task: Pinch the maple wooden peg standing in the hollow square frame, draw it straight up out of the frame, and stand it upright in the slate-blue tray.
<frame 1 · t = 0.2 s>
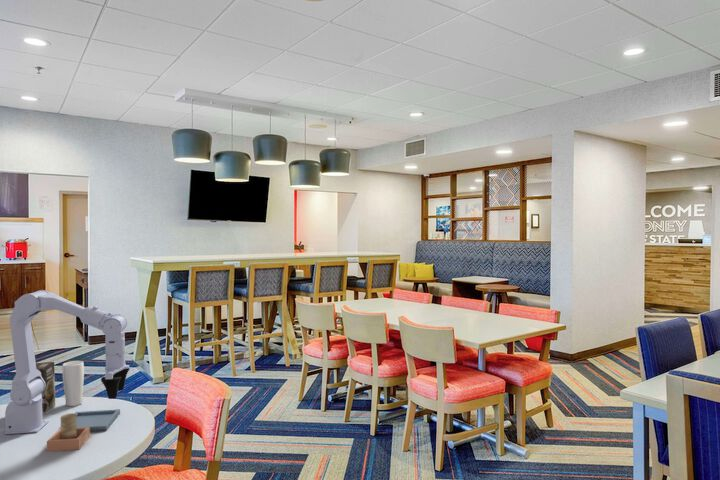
hand: (116, 394, 164), 10 cm above the table, tool pointing down, fingers open, 7 cm apart
maple peg: (68, 430, 150), in the hollow square frame
slate tray: (90, 423, 165), on the table
hollow square frame: (69, 443, 150), on the table
coffee box: (40, 411, 175), on the table
white cylindrical piece: (74, 404, 182), on the table
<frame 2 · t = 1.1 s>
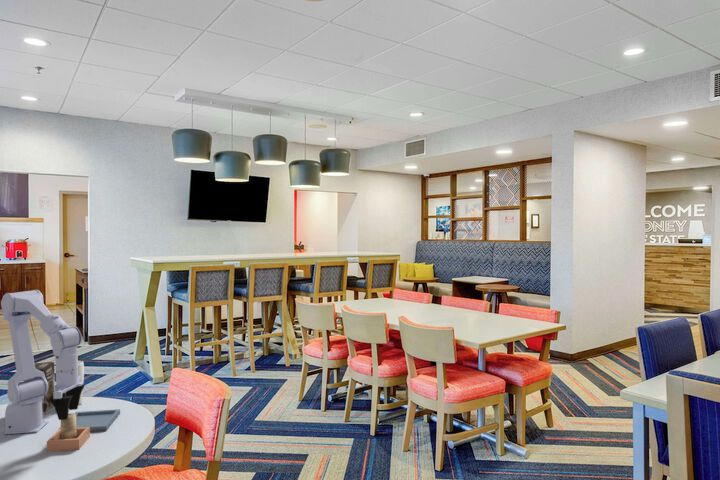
hand: (68, 414, 150), 9 cm above the table, tool pointing down, fingers open, 7 cm apart
nothing on the table moved.
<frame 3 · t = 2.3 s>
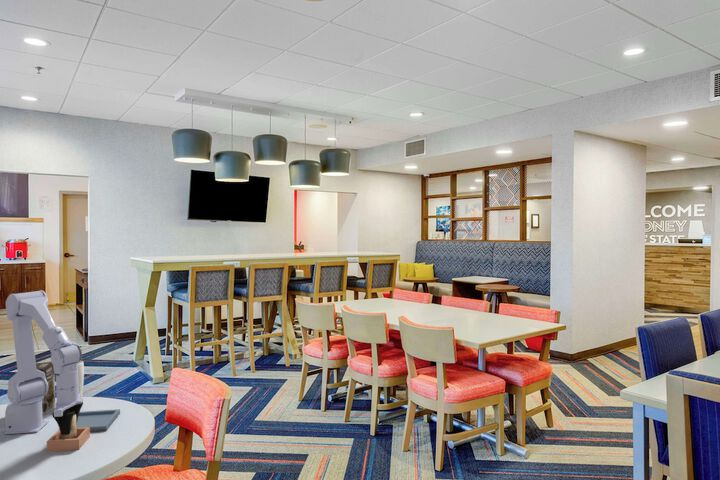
hand: (68, 431, 150), 4 cm above the table, tool pointing down, fingers closed on maple peg, 4 cm apart
maple peg: (68, 430, 150), in the hollow square frame, touching gripper
everything else where it was.
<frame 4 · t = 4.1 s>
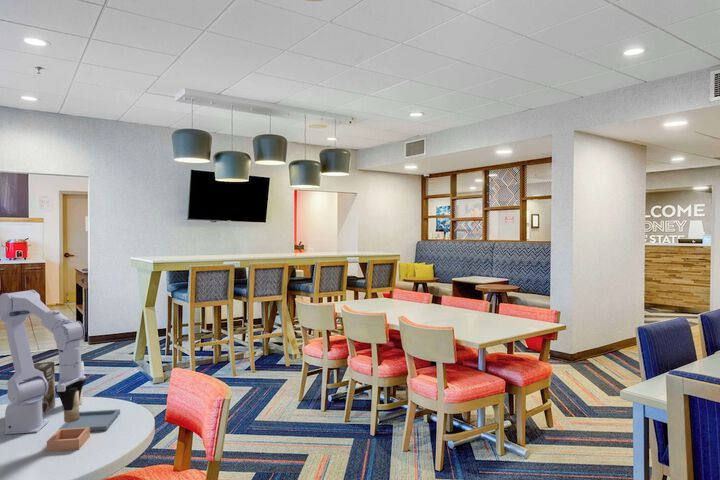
hand: (71, 407, 152), 10 cm above the table, tool pointing down, fingers closed on maple peg, 4 cm apart
maple peg: (71, 406, 152), point 11 cm above the table, touching gripper
everything else where it was.
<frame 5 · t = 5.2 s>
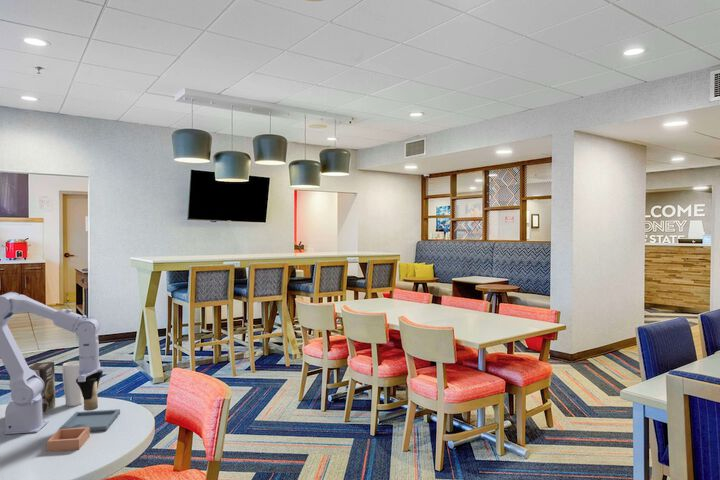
hand: (90, 396, 165), 9 cm above the table, tool pointing down, fingers closed on maple peg, 4 cm apart
maple peg: (90, 395, 165), point 9 cm above the table, touching gripper
everything else where it was.
when the fingers open (6 cm above the table, at t = 6.1 s): maple peg drops 1 cm, resting on slate tray.
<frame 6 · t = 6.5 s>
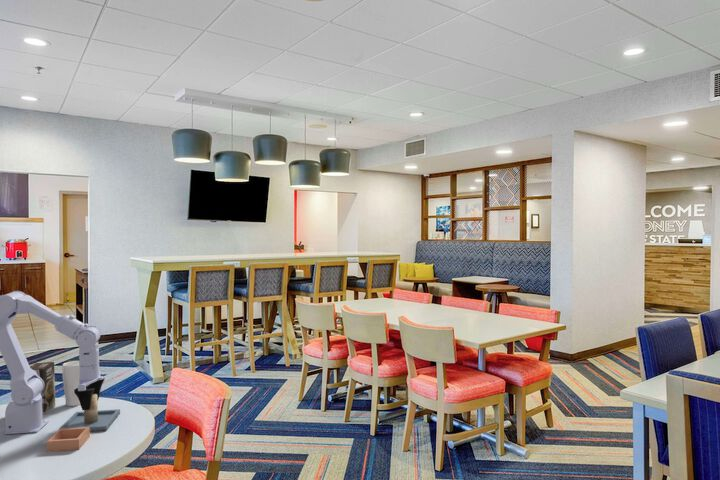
hand: (90, 405, 165), 6 cm above the table, tool pointing down, fingers open, 7 cm apart
maple peg: (90, 408, 165), point 5 cm above the table, touching slate tray
everything else where it was.
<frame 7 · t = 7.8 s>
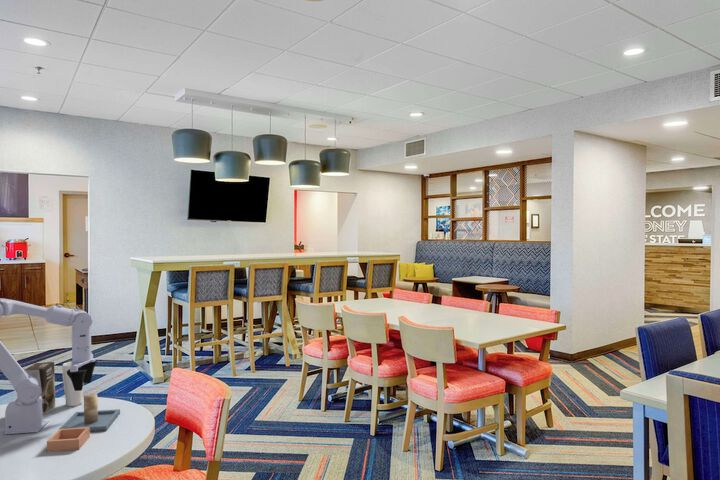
hand: (82, 386, 170), 10 cm above the table, tool pointing down, fingers open, 7 cm apart
nothing on the table moved.
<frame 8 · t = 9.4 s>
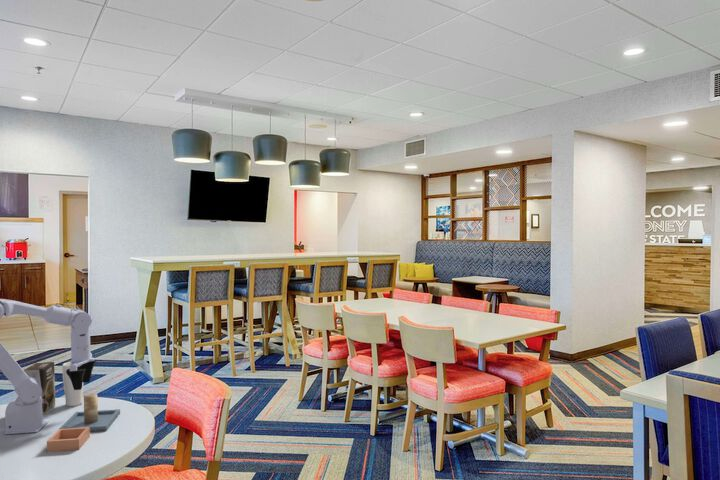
hand: (82, 385, 171), 10 cm above the table, tool pointing down, fingers open, 7 cm apart
nothing on the table moved.
at the end: maple peg inside the target area on the slate tray (0.1 cm from its centre), point 4.9 cm above the slate tray's base; maple peg tilted 0°; the gripper is holding nothing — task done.
